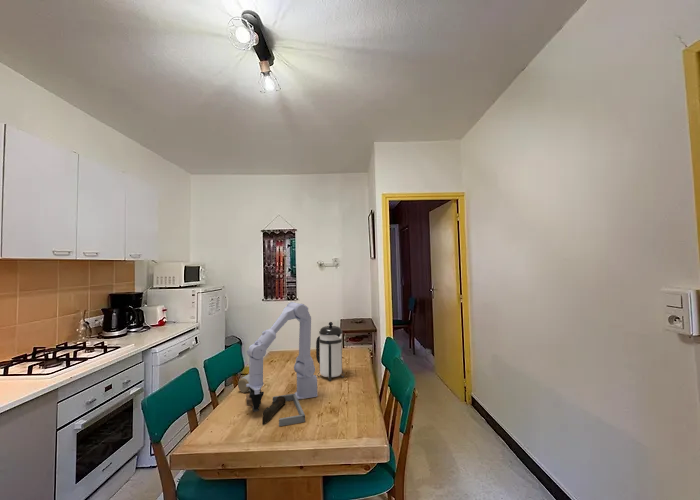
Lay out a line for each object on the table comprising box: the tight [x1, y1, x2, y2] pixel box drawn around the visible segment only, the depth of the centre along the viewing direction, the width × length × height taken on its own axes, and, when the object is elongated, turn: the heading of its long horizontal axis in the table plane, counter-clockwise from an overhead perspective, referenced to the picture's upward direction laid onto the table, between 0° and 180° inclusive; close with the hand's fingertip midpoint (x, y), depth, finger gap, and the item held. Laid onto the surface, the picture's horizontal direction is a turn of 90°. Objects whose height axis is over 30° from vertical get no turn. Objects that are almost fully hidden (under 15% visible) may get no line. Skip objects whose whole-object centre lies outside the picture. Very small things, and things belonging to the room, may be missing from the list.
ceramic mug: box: [237, 373, 262, 394], centre depth 157 cm, size 11×8×8 cm
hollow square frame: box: [245, 393, 262, 407], centre depth 144 cm, size 6×6×2 cm
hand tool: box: [261, 395, 286, 425], centre depth 132 cm, size 19×4×5 cm, turn 168°
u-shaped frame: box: [272, 393, 306, 427], centre depth 134 cm, size 10×23×2 cm, turn 20°
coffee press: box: [315, 321, 345, 382], centre depth 177 cm, size 17×16×30 cm
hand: (255, 405), depth 135 cm, fingers open, 7 cm apart
